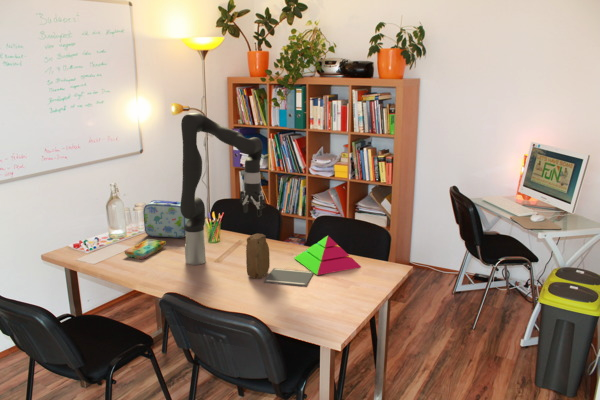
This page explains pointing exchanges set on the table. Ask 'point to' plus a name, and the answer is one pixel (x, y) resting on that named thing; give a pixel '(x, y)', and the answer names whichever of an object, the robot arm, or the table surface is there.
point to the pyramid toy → (326, 258)
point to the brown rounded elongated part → (257, 256)
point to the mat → (289, 277)
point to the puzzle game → (145, 248)
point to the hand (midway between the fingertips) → (252, 214)
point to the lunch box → (164, 219)
